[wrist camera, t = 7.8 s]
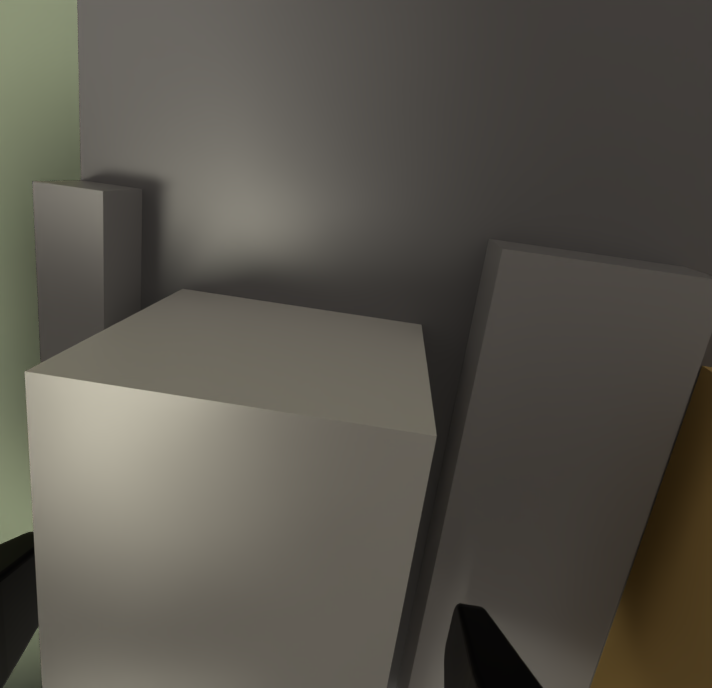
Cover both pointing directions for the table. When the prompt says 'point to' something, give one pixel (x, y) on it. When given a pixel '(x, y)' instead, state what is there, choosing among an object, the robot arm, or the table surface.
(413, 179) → the organiser
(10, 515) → the table surface
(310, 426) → the grey plug
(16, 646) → the robot arm
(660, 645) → the amber plug
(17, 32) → the table surface
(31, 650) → the table surface
